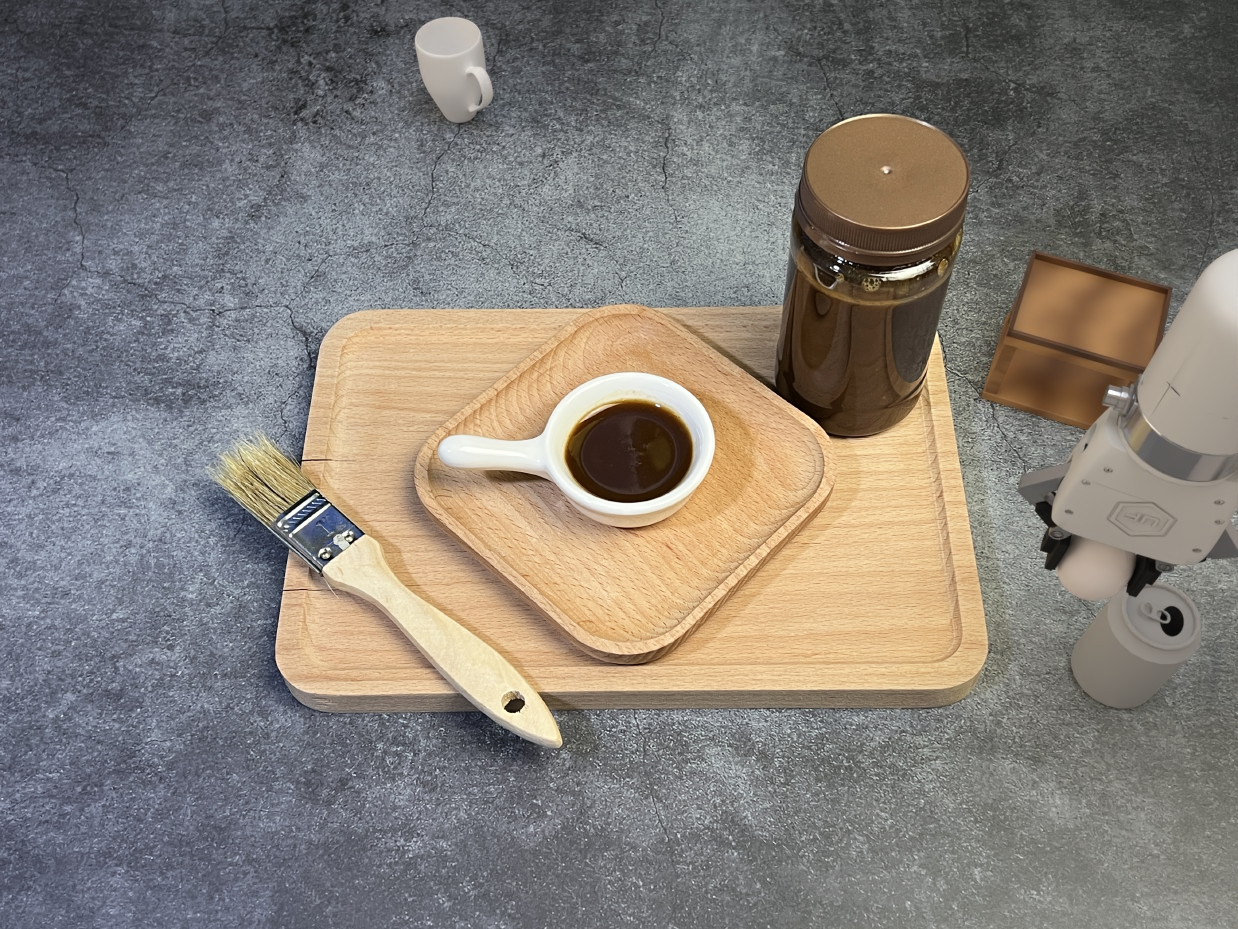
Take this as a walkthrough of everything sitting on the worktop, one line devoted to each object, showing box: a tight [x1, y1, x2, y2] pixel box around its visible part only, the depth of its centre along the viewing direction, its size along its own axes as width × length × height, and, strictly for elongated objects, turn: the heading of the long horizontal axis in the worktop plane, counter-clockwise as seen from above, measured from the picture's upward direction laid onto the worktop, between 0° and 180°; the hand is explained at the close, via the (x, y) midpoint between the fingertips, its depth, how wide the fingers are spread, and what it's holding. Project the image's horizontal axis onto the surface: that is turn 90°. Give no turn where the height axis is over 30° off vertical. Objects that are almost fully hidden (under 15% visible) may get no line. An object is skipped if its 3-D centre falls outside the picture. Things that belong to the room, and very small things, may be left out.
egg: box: [1055, 534, 1136, 602], centre depth 82 cm, size 5×5×7 cm
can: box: [1070, 580, 1203, 710], centre depth 94 cm, size 8×8×12 cm
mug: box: [414, 16, 494, 124], centre depth 139 cm, size 12×8×11 cm
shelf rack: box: [980, 249, 1174, 432], centre depth 114 cm, size 14×12×11 cm
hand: (1092, 566), depth 82 cm, fingers closed on egg, 5 cm apart
